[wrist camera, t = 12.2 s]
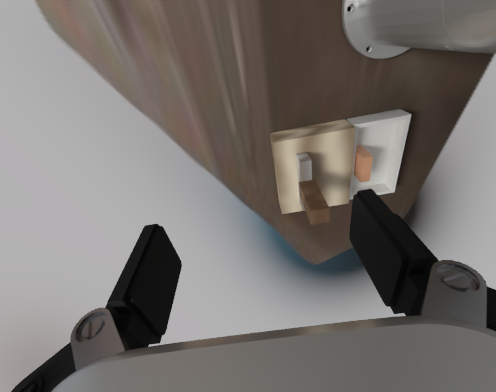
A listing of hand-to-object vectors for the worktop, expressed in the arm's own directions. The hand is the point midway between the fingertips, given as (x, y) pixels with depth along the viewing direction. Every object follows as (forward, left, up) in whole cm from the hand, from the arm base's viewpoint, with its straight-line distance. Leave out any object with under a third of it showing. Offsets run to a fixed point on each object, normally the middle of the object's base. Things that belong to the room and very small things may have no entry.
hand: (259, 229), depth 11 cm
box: (-19, +13, -28) cm, 37 cm away
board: (-9, +13, -28) cm, 32 cm away
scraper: (-7, +13, -24) cm, 28 cm away
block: (-16, +13, -26) cm, 33 cm away
